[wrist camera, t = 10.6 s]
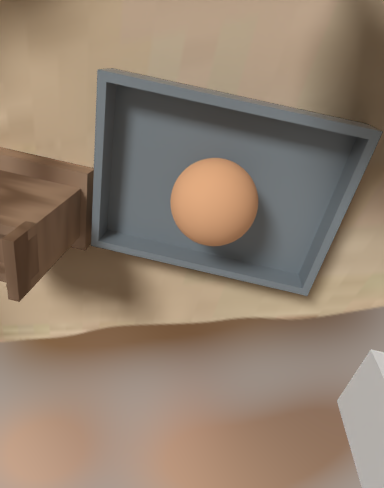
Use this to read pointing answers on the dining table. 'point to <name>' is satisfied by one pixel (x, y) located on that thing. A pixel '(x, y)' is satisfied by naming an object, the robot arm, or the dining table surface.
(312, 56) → the dining table surface
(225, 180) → the ball
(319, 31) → the dining table surface
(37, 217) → the stand
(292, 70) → the dining table surface
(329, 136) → the tray
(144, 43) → the dining table surface
